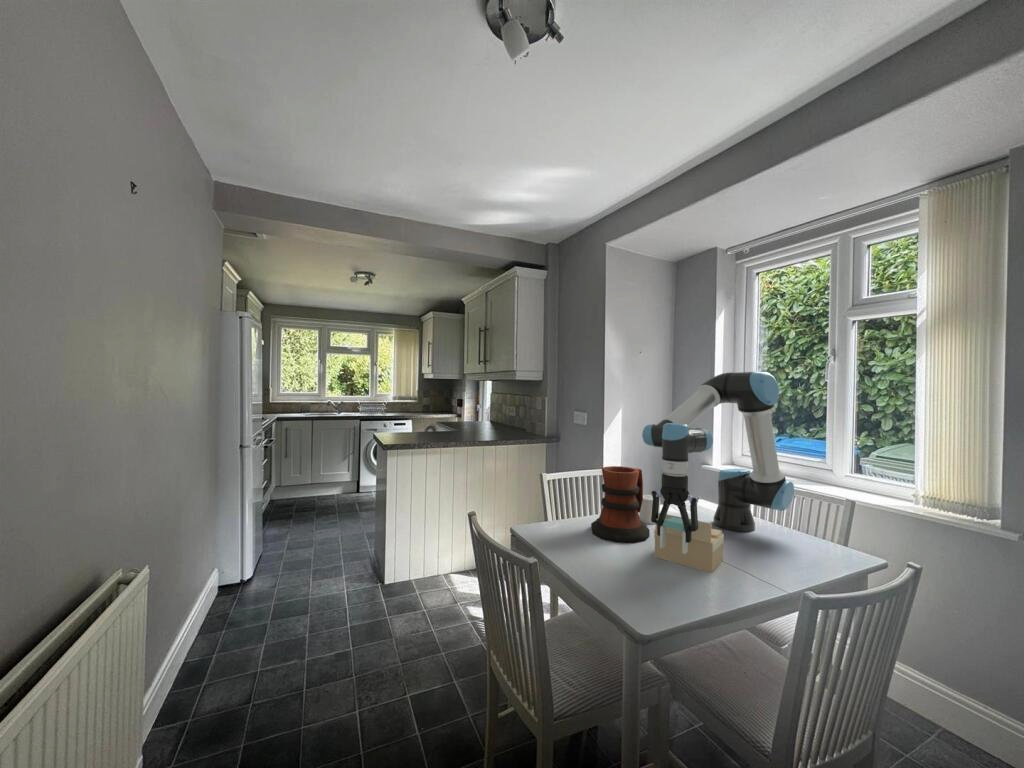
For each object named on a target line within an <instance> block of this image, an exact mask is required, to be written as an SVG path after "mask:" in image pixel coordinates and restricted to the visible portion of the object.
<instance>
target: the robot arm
mask: <svg viewBox="0 0 1024 768" xmlns="http://www.w3.org/2000/svg"><path fill="white" fill-rule="evenodd" d="M779 398H780V388H779V385H778V381H777V380H776V378H775V377H774V375H773V374H771V373H769V372H765V371H741V372H724V373H721V374H718V375H716V376H713V377H711V378H710V379H708V380H706V381H704V382H703V383H701V384H700V385H698V387H697V388H696V389H695V392H694V393H693V395H691V396H690V397H689V398H687V399H686V400H685V401H684V402H683V403H681V404H680V405H679V406H677V408H676V409H674V410H673V411H672V412H670V413H669V414H668V415H667V416H666V417H665V418H663V419H662V420H661V421H660V422H658V423H657V424H654V423H653V424H647V425H645V426H644V427H643V430H642V433H641V435H642V441H643V442H644V444H645V445H647V446H649V447H650V446H651V447H654V448H660V449H661V448H662V449H661V450H662V451H661V453H662V455H661V456H662V457H661V472H662V474H661V487H660V489H654V490H651V495H652V497H653V504H652V517H651V521H652V522H653V523H656V524H657V534H658V536H660V548H663V547H665V546H666V527H664V525H663V523H664V520H665V517H666V514H668V512H669V509H670V506H671V505H674V506H677V509H678V510H679V513H680V517H682V521H683V524H684V528H685V530H684V531H683V538H682V554H686V553H687V552H688V543H690V542H691V532H692V531H694V532H695V531H696V530H697V529H698V521H699V519H698V518H699V516H698V503H699V497H698V496H694V495H691V494H690V492H689V489H688V488H689V476H688V474H689V454H691V453H692V454H693V453H703V452H706V451H709V450H710V449H711V448H712V446H713V443H714V439H713V435H712V434H711V432H710V431H709V430H708V429H705V428H701V427H700V428H699V427H695V428H691V427H690V426H692V425H693V424H694V423H695V422H696V421H697V420H698V419H700V418H701V417H702V415H704V414H705V413H706V412H708V411H709V410H710V409H711V408H716V407H717V406H718V405H720V404H725V403H726V404H729V403H730V404H736V405H737V410H738V411H739V412H740V413H741V414H743V419H744V425H745V431H746V436H747V442H748V448H749V453H750V459H751V465H752V471H751V470H750V469H747V468H725V469H722V470H720V471H719V473H718V479H717V484H718V485H717V487H718V489H717V493H718V495H717V496H718V498H717V502H718V503H717V504H718V505H717V507H716V510H715V512H714V515H713V523H712V524H714V525H715V526H716V527H719V528H721V529H724V530H728V531H734V532H742V533H743V532H752V531H753V532H754V530H756V522H755V519H754V515H753V514H752V511H751V505H753V506H757V507H762V508H765V509H770V510H772V511H781V512H784V511H786V510H787V509H788V508H789V507H790V505H791V504H792V501H793V499H794V493H795V485H794V483H793V481H790V480H787V479H786V474H785V472H784V471H782V469H780V465H779V460H778V459H779V458H778V453H777V447H776V441H775V434H774V433H775V432H774V428H773V422H772V415H771V411H772V410H773V409H774V407H775V404H776V403H777V402H778V401H779ZM689 427H690V428H689ZM661 497H663V503H662V508H661V509H660V516H659V518H658V512H659V500H660V501H661ZM687 500H688V503H690V505H689V508H690V511H689V512H690V517H689V514H688V511H687V505H686V501H687ZM689 519H691V523H690V520H689ZM656 524H655V525H656Z"/></svg>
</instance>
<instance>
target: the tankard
mask: <svg viewBox="0 0 1024 768" xmlns="http://www.w3.org/2000/svg"><path fill="white" fill-rule="evenodd" d="M601 473H602V479H603V484H601V491H602V492H603V493H604V497H602V498H601V506H602V508H601V511H600V513H599V514H600V515H599V517H598V518H596V520H594V521H593V522H591V524H590V530H591V532H592V535H593V536H595V537H597V538H598V539H601V540H602V541H606V542H612V543H615V544H616V543H617V544H636V543H643V542H646V541H647V540H648V539H649V538H650V536H651V535H650V530H651V529H649V527H648V526H647V524H646V523H643V522H642V521H641V520H640V517H639V512H640V510H641V505H642V501H643V495H644V481H643V470H642V469H641V468H638V467H637V468H635V467H629V466H621V465H620V466H619V465H618V466H617V465H616V466H615V465H613V466H612V465H610V466H604V467H601Z"/></svg>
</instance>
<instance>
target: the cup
mask: <svg viewBox="0 0 1024 768" xmlns="http://www.w3.org/2000/svg"><path fill="white" fill-rule="evenodd" d="M652 504H653V497H652V494H643V501H642V505H641V510H640V512H639V513H638V514H639V517H640V520H641V521H642V523H643V524H645V525H647V524H648V525H656V523H653V522H652V521H651V517H652ZM658 513H661V499H660V500H659V512H658Z"/></svg>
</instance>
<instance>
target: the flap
mask: <svg viewBox="0 0 1024 768" xmlns="http://www.w3.org/2000/svg"><path fill="white" fill-rule="evenodd" d="M660 513H661V512H660ZM660 513H658V518H659V516H660ZM689 520H690V523H691V518H689ZM712 524H713V523H712V522H711V523H710V522H707V521H701V520H698V529H697V530H696V531H695V532H694V531H692V532H691V539H695V540H699V541H704V542H708V543H711V533H712V529H713V526H712ZM663 525H664V527H666V533H669V534H674V535H678V536H682V537H683V531H684V530H685V528H684V524H683V521H682V517H681V516H677V515H673V514H668V513H667V514H666V517H665V520H664V523H663ZM655 530H657V524H655V528H654V531H655Z"/></svg>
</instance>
